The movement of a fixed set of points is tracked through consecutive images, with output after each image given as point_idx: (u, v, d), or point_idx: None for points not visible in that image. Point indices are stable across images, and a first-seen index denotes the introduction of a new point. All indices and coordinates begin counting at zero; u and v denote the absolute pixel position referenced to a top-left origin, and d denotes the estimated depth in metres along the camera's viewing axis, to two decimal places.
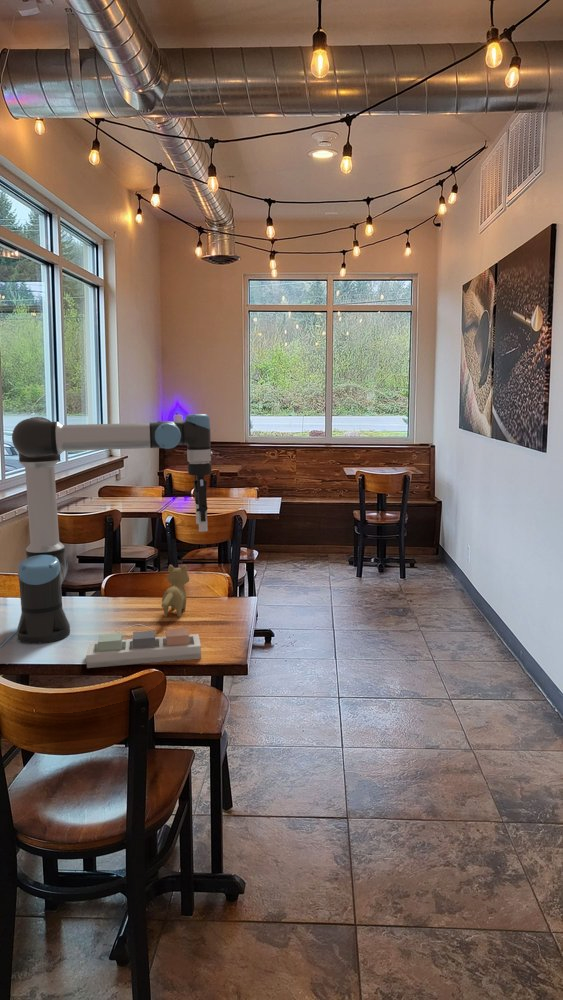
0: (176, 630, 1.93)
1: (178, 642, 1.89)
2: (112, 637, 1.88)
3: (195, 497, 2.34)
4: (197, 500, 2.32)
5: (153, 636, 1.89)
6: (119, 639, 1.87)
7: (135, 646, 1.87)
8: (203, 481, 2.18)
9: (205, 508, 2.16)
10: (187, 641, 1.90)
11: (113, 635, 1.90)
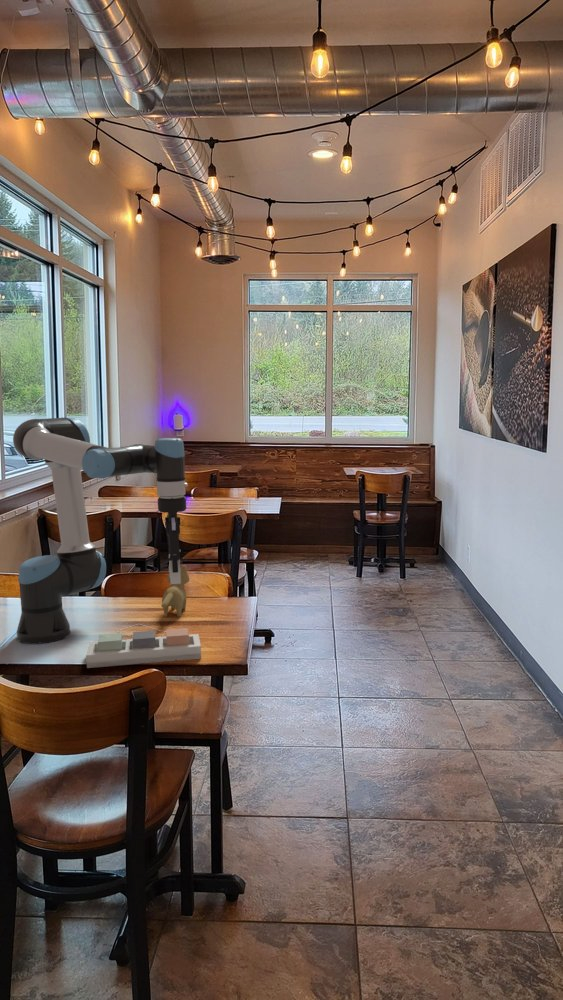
0: (176, 630, 1.93)
1: (178, 642, 1.89)
2: (112, 637, 1.88)
3: None
4: None
5: (153, 636, 1.89)
6: (119, 639, 1.87)
7: (135, 646, 1.87)
8: (175, 525, 1.81)
9: (177, 558, 1.82)
10: (187, 641, 1.90)
11: (113, 635, 1.90)
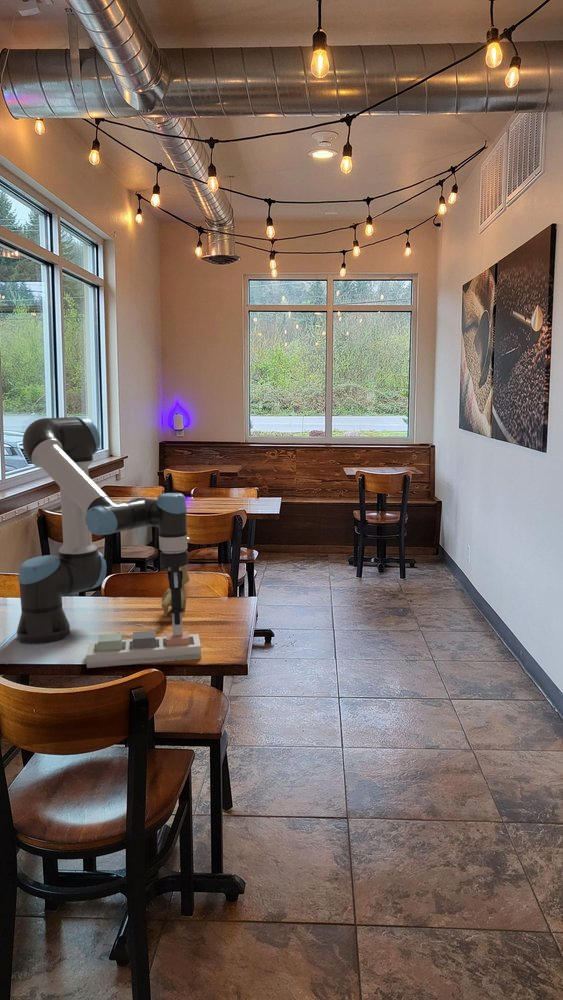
0: None
1: (178, 645, 1.89)
2: (112, 637, 1.88)
3: (171, 599, 1.93)
4: None
5: (153, 636, 1.89)
6: (119, 639, 1.87)
7: (135, 646, 1.87)
8: (178, 584, 1.84)
9: (179, 611, 1.87)
10: (187, 644, 1.90)
11: (113, 635, 1.90)
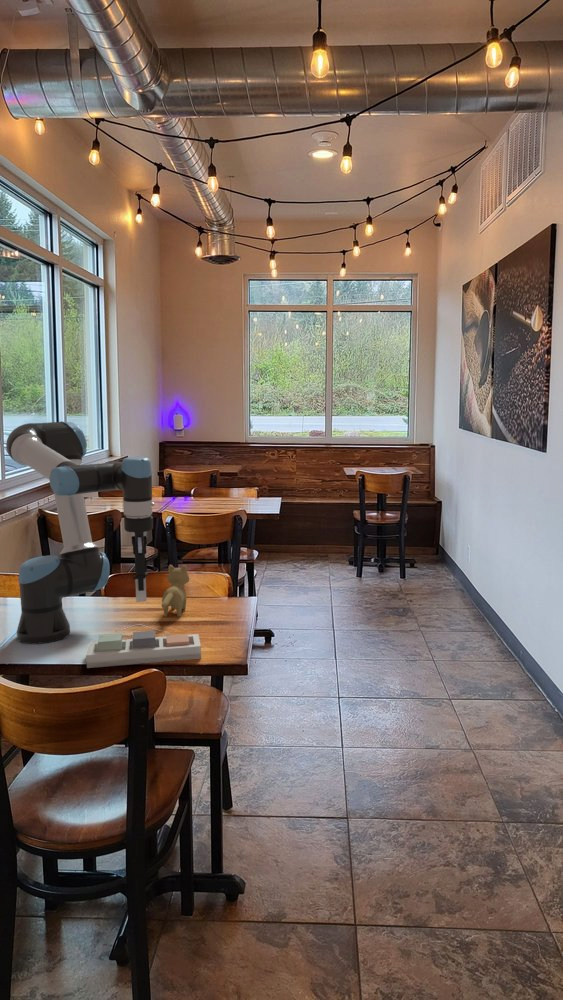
0: (176, 636, 1.93)
1: None
2: (112, 637, 1.88)
3: None
4: None
5: (153, 636, 1.89)
6: (119, 639, 1.87)
7: (135, 646, 1.87)
8: (142, 549, 1.81)
9: (143, 577, 1.85)
10: None
11: (113, 635, 1.90)
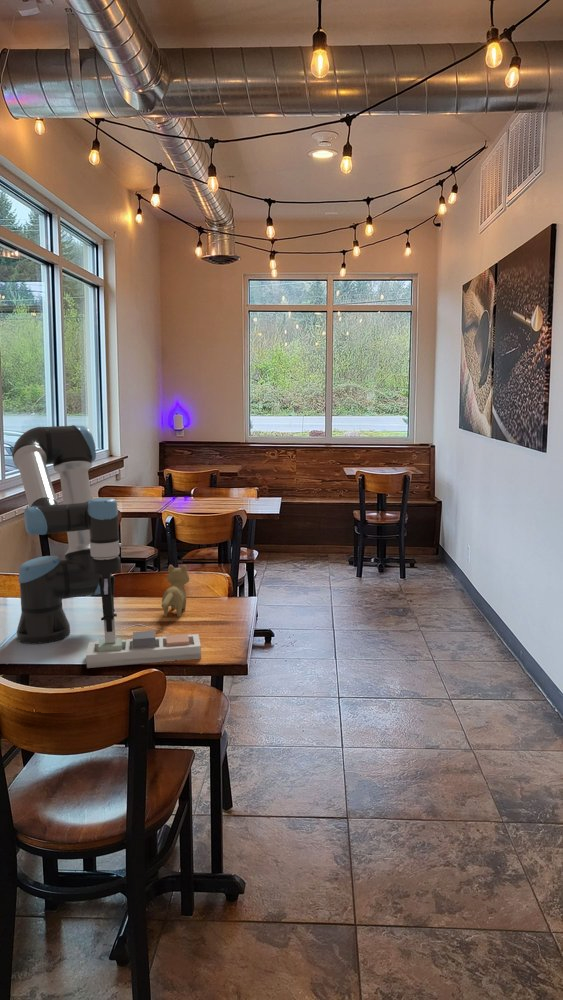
0: (176, 636, 1.93)
1: None
2: None
3: None
4: None
5: (153, 636, 1.89)
6: (120, 644, 1.87)
7: (135, 646, 1.87)
8: (108, 591, 1.80)
9: (110, 618, 1.84)
10: None
11: None
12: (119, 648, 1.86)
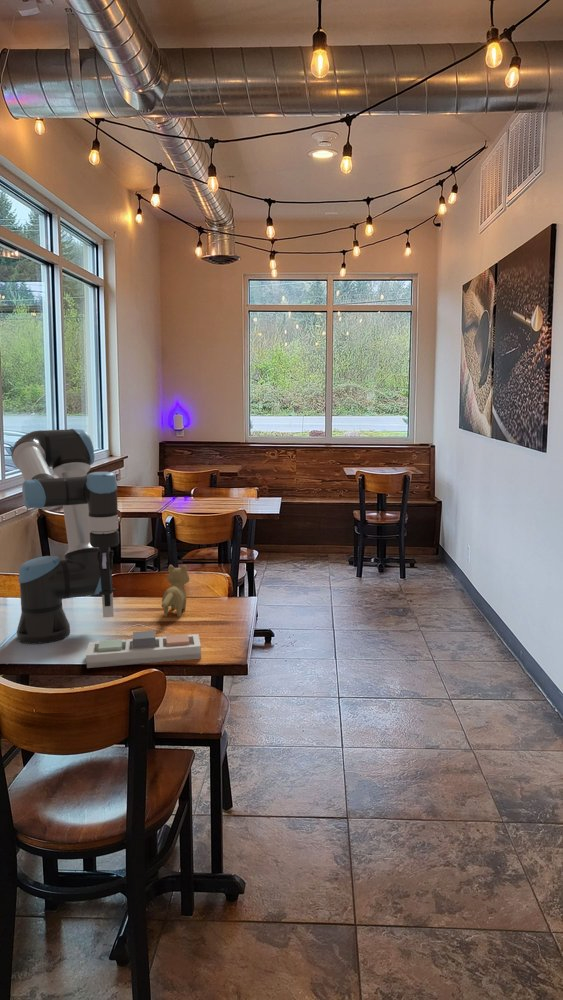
0: (176, 636, 1.93)
1: None
2: (112, 644, 1.89)
3: None
4: None
5: (153, 636, 1.89)
6: (120, 645, 1.87)
7: (135, 646, 1.87)
8: (106, 565, 1.80)
9: (109, 593, 1.84)
10: None
11: (113, 641, 1.90)
12: (119, 649, 1.87)
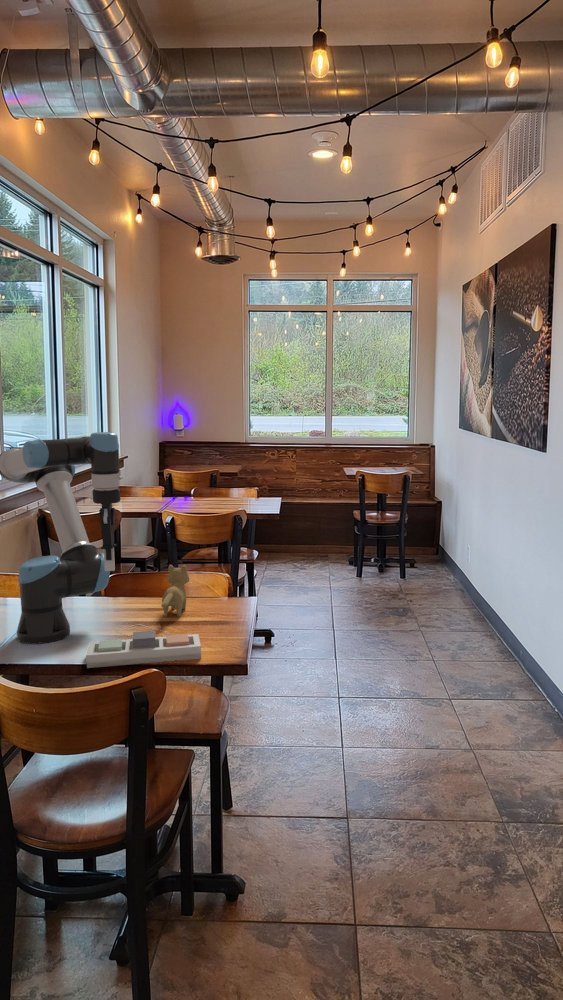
0: (176, 636, 1.93)
1: None
2: (112, 644, 1.89)
3: None
4: None
5: (153, 636, 1.89)
6: (120, 645, 1.87)
7: (135, 646, 1.87)
8: (107, 520, 1.89)
9: (110, 547, 1.93)
10: None
11: (113, 641, 1.90)
12: (119, 649, 1.87)
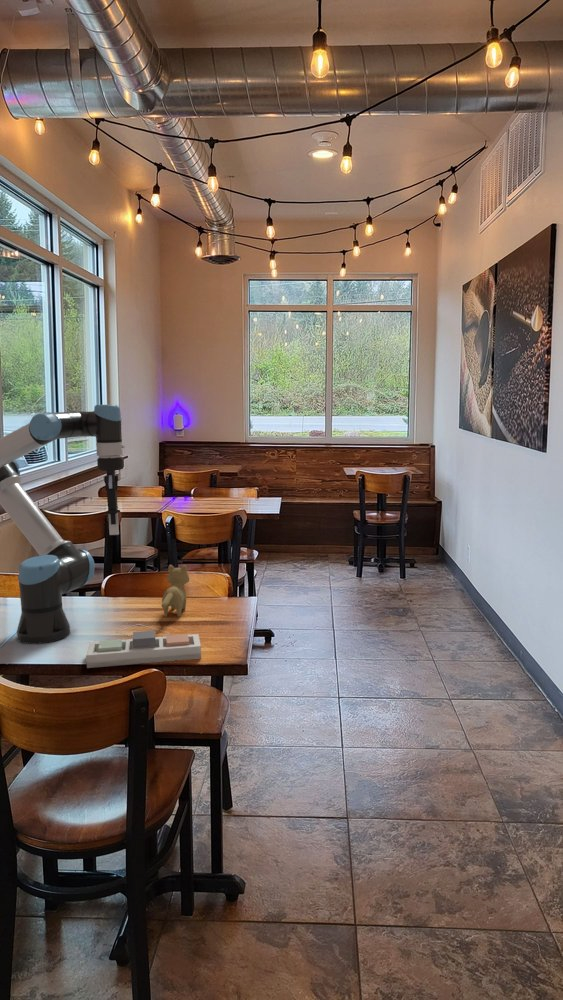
0: (176, 636, 1.93)
1: None
2: (112, 644, 1.89)
3: None
4: None
5: (153, 636, 1.89)
6: (120, 645, 1.87)
7: (135, 646, 1.87)
8: (112, 485, 2.03)
9: (114, 511, 2.07)
10: None
11: (113, 641, 1.90)
12: (119, 649, 1.87)
